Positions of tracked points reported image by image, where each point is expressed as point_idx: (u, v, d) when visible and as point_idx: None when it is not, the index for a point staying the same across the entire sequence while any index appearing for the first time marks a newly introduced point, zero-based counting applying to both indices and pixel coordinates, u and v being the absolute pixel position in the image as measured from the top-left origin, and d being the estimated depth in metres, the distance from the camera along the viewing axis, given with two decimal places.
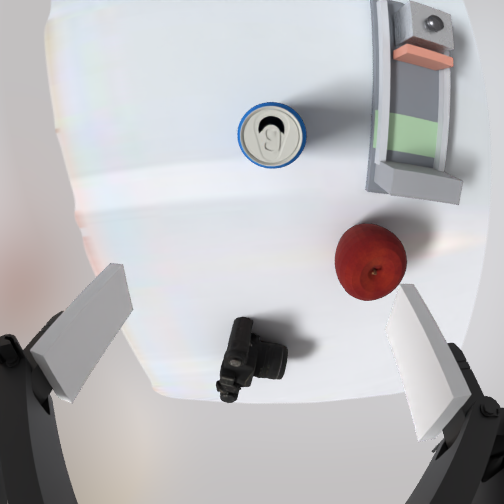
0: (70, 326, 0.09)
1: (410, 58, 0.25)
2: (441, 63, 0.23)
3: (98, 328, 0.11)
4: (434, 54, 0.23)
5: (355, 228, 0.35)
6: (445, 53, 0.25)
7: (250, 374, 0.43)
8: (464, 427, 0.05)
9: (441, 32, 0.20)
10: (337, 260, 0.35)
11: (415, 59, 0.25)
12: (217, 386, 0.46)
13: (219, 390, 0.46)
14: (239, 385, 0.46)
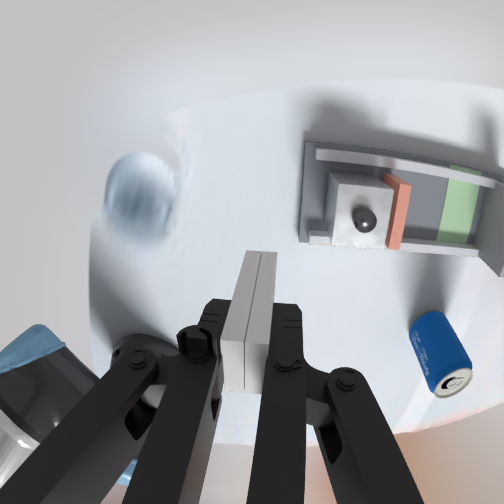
0: (249, 310, 0.11)
1: None
2: None
3: None
4: (399, 213, 0.25)
5: None
6: (373, 162, 0.26)
7: None
8: (262, 390, 0.08)
9: (372, 206, 0.24)
10: None
11: None
12: None
13: None
14: None
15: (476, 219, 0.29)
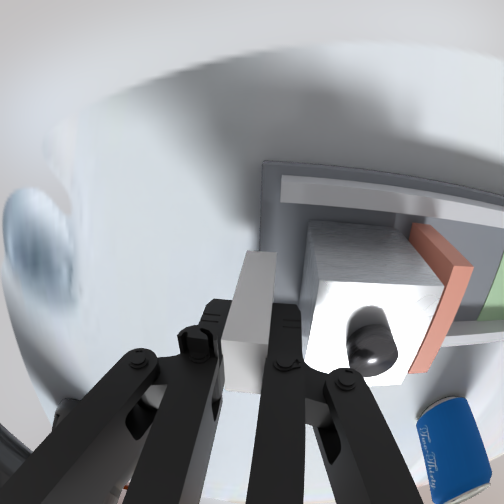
0: None
1: None
2: None
3: None
4: (440, 319, 0.11)
5: None
6: (398, 207, 0.13)
7: None
8: (261, 390, 0.08)
9: (393, 321, 0.10)
10: None
11: None
12: None
13: None
14: None
15: None
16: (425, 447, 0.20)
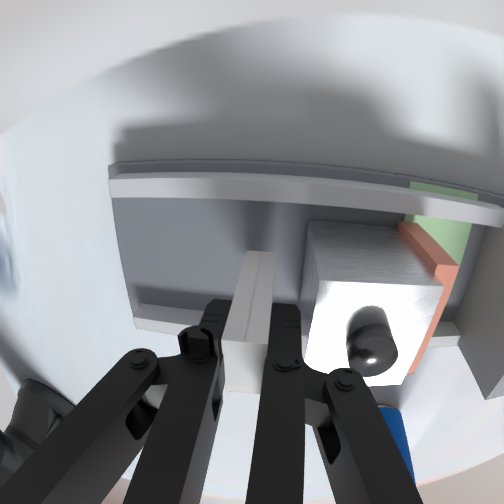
0: None
1: None
2: None
3: None
4: None
5: None
6: (212, 193, 0.14)
7: None
8: (261, 390, 0.08)
9: (392, 321, 0.10)
10: None
11: None
12: None
13: None
14: None
15: (462, 281, 0.16)
16: None
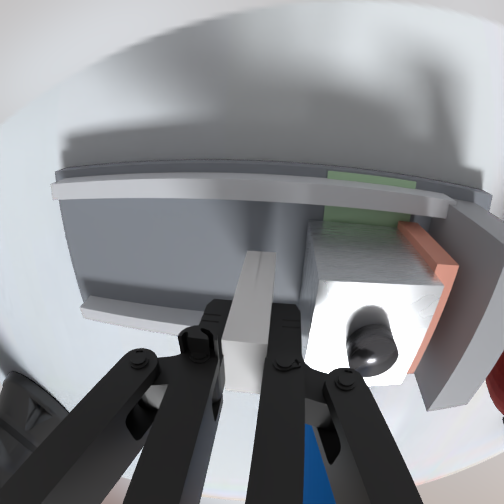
0: None
1: None
2: None
3: None
4: None
5: (486, 379, 0.15)
6: (127, 192, 0.14)
7: None
8: (261, 390, 0.08)
9: (392, 321, 0.10)
10: None
11: None
12: None
13: None
14: None
15: None
16: None
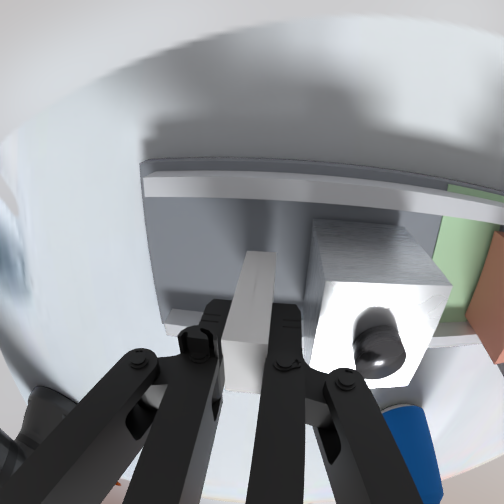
0: None
1: None
2: None
3: None
4: None
5: None
6: (261, 193, 0.13)
7: None
8: (261, 390, 0.08)
9: (400, 322, 0.10)
10: None
11: None
12: None
13: None
14: None
15: None
16: None
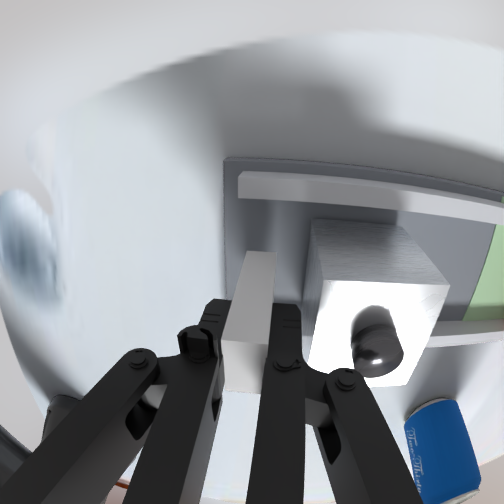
0: None
1: None
2: None
3: None
4: None
5: None
6: (363, 200, 0.13)
7: None
8: (261, 390, 0.08)
9: (398, 321, 0.10)
10: None
11: None
12: None
13: None
14: None
15: None
16: (412, 450, 0.20)
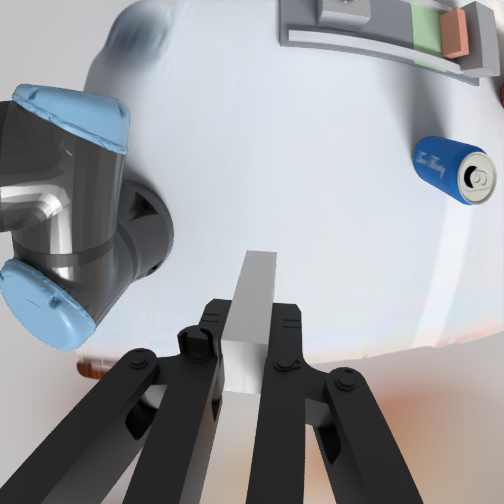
0: None
1: None
2: (464, 21, 0.19)
3: None
4: (461, 26, 0.19)
5: None
6: None
7: None
8: (261, 390, 0.08)
9: None
10: None
11: None
12: None
13: None
14: None
15: None
16: (424, 162, 0.29)
